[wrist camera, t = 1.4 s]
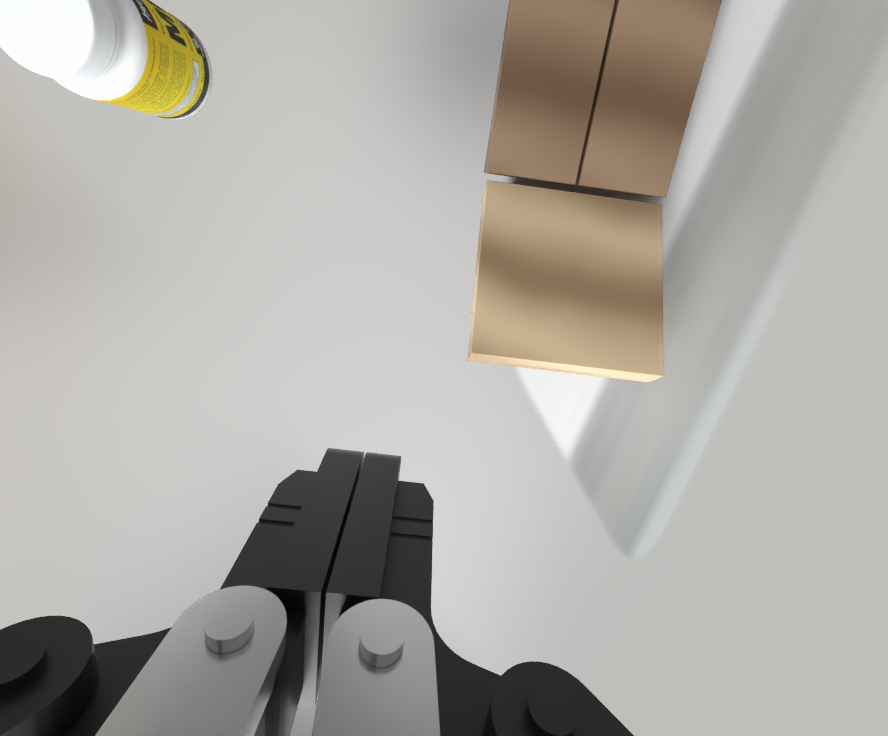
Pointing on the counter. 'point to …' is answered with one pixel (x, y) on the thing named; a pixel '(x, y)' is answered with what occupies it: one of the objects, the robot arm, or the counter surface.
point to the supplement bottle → (111, 52)
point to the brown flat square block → (597, 90)
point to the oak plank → (568, 283)
